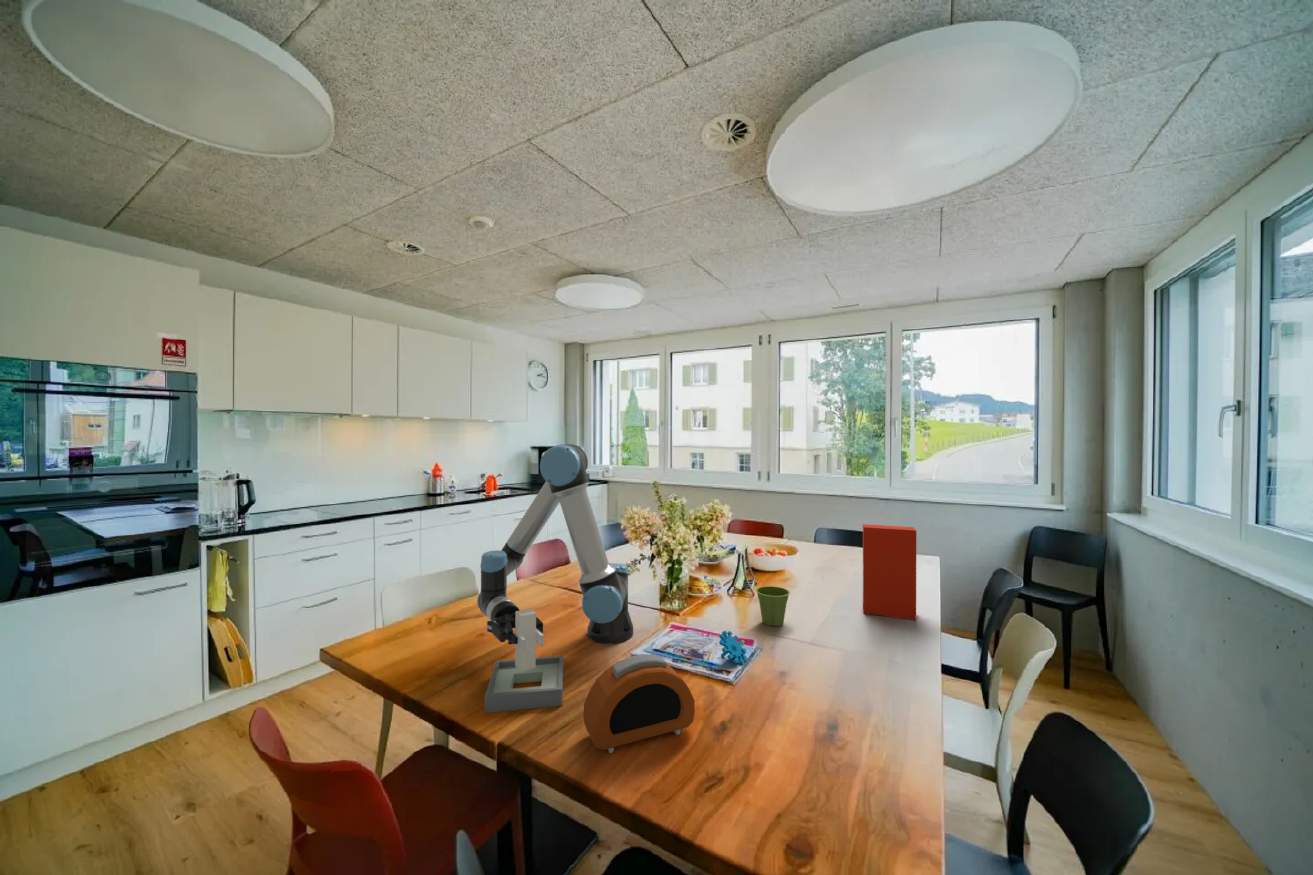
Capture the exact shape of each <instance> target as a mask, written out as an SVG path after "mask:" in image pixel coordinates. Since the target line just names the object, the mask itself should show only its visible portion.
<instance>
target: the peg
mask: <svg viewBox="0 0 1313 875" xmlns="http://www.w3.org/2000/svg"><path fill="white" fill-rule="evenodd" d="M519 610H520V611H516V617H515V628H514V629H515V630H514V631H516V630H517V631H518V632H519V633H520V634H521V635H522V636H523V637H524V638H525V639H526V641H525V651H522V650H521V649H520V648H519V647H518V646H517V645H516V644H514V659H515V666H516V667H517V668H518V669H519V671H524V670H528V669H531V668H535V667H536V658H537V657H536V654H537V653H536V652H537V650H536V648H537V645H536V644H537V642H536V617H537V613H536V611H534V609H532V608H524V609H519Z"/></svg>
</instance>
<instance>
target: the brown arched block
mask: <svg viewBox="0 0 1313 875" xmlns="http://www.w3.org/2000/svg"><path fill="white" fill-rule="evenodd" d="M695 708H696V707H695V699H694V695H693V694H692V692H691V689H690V688H689V686H688V684H687V683H686V681H685V680H684V679H683V678H682V677H681V676H680V675H679V673H677V672H676V670H674V668H673V667H671V665H670V664H668V663H667V661H666V660H665V659H664V658H663V657H662V656H661V655H657V654H650V653H649V654H647V653H646V654H645V653H644V654H636V655H633V656H628V657H626V658H624V659H621V660H618V661H616V662H615V663H613V664H612V665H611V666H609V667H608V668H606V669H605V670H604V671H603V672H602V673H601V674H600V675H599V676H598V677H596V679H595V681H594V683H593V684H592V686H590V688H589V692H588V693H587V697H586V698H585V701H584V703H583V715H582V716H583V721H584V726H585V729H586V731H587V733H588V734H589V738H590V740H591V741H592V743H593V746H594V747H595V748H596V749H598V750H600V751H606V750H607V751H608V753H609V754H612V753H614V751H615V748H617V747H620V746H624V745H627V744H632V743H636V742H638V741H639V742H640V741H642V740H646V739H649V738H654V737H657V736H660V735H661V736H662V735H664V734H668V733H672V732H674V733H675V735H676V736H677V735H680V734H681V730H683V729H686V728H689V727H690V726H691V725H692V724H693V722H694V719H695V713H696V710H695Z"/></svg>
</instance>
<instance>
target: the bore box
mask: <svg viewBox="0 0 1313 875" xmlns="http://www.w3.org/2000/svg"><path fill="white" fill-rule="evenodd" d="M537 682H541V685H540V686H528V687H527V686H526V687H517V688H514V685H515V684H523V683H525V684H526V683H537ZM563 688H564V655H555V656H544V657H542V656H540V657H536V667H535V668H531V669H528V670H524V671H519V669H518V668H517V667H516V666H515V658H514V659H504V660H496V661H495V663H494V666H493V670H492V673H491V676H490V679H489V682H488V685H487V688H486V691H485V694H484V714H487V713H498V712H509V711H510V712H511V711H519V710H529V709H540V708H549V707H550V708H551V707H561V706H562V707H563V692H564V691H563V690H564V689H563Z"/></svg>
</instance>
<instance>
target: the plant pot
mask: <svg viewBox="0 0 1313 875" xmlns="http://www.w3.org/2000/svg"><path fill="white" fill-rule="evenodd" d="M755 592H756V594H757V598H758V602H759V608H760V615H761V621H762V623H763V624H764V625H766V626H768V627H769V626H770V627H772V626H774V627H781V626H783V625H784V623H785V617H786V616H785V615H786V610H787V604H788V603H787V602H788V600H789V596H790V594H791V591H790V590H789V589H787V588H785V587H781V586H775V585H774V586H773V585H766V586H765V585H764V586H759V587H757V588H755Z"/></svg>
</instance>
